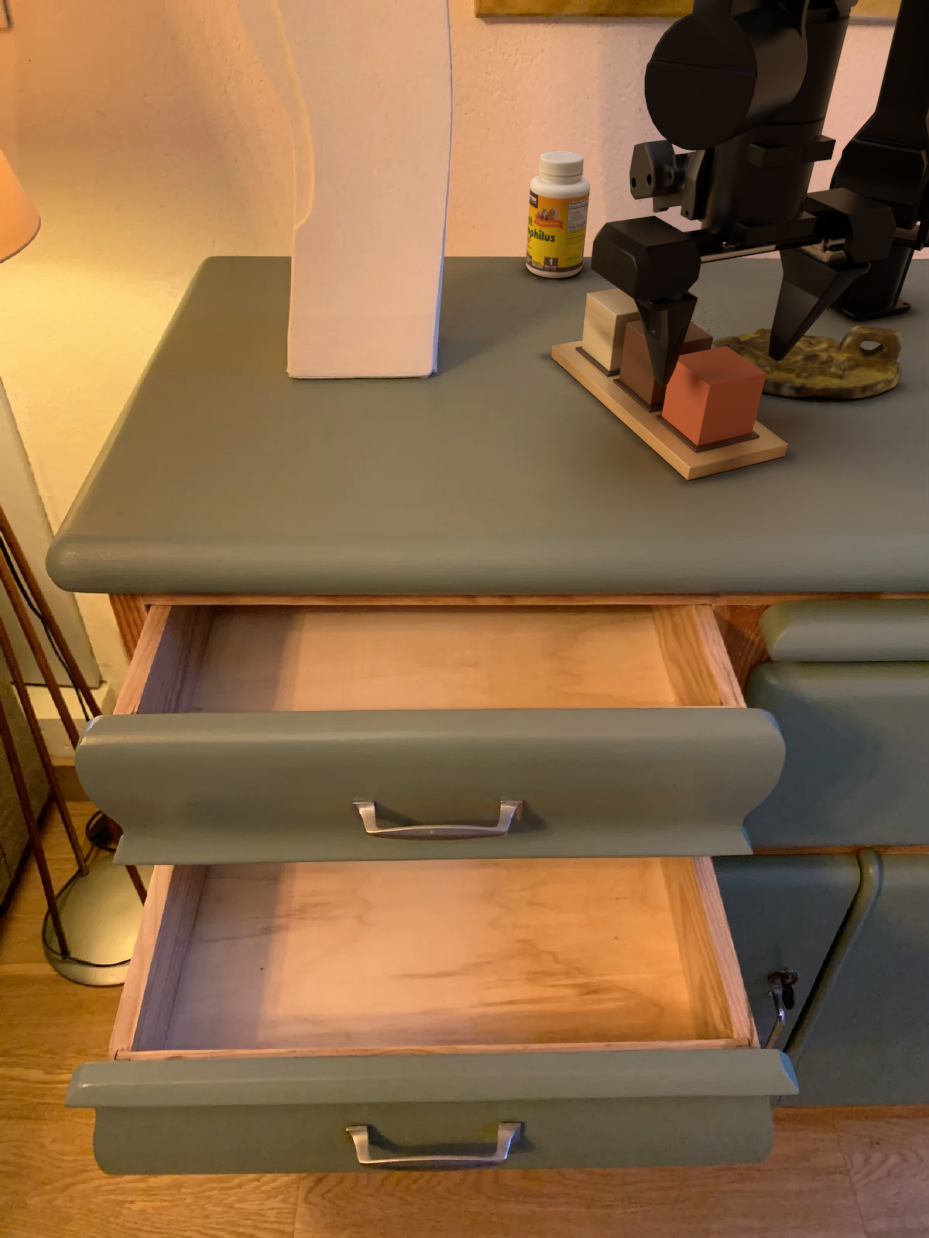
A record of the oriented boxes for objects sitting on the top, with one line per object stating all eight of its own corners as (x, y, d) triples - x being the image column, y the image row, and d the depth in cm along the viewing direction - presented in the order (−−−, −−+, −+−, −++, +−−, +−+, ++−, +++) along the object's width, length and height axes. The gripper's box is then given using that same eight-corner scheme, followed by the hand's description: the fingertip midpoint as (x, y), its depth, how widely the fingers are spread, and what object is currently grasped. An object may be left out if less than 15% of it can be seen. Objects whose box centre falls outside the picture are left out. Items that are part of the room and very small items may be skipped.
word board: (635, 341, 75) (644, 273, 72) (785, 456, 62) (806, 380, 58) (550, 357, 73) (556, 288, 69) (687, 480, 59) (703, 403, 56)
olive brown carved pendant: (697, 399, 70) (899, 420, 67) (707, 345, 66) (921, 365, 64) (705, 337, 76) (890, 354, 73) (714, 285, 72) (910, 301, 70)
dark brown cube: (669, 369, 69) (678, 312, 66) (702, 395, 66) (714, 336, 63) (618, 379, 68) (626, 322, 65) (650, 406, 65) (659, 347, 62)
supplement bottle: (514, 267, 88) (518, 154, 81) (557, 255, 90) (565, 144, 83) (550, 285, 84) (558, 168, 78) (594, 272, 87) (605, 158, 80)
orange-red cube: (714, 404, 65) (726, 345, 62) (752, 433, 62) (767, 373, 59) (661, 416, 63) (671, 356, 60) (697, 446, 60) (709, 385, 57)
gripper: (812, 71, 58) (759, 304, 69) (558, 95, 53) (542, 345, 63) (941, 109, 51) (859, 365, 61) (659, 143, 45) (622, 418, 56)
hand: (719, 370), depth 60 cm, fingers open, 9 cm apart
